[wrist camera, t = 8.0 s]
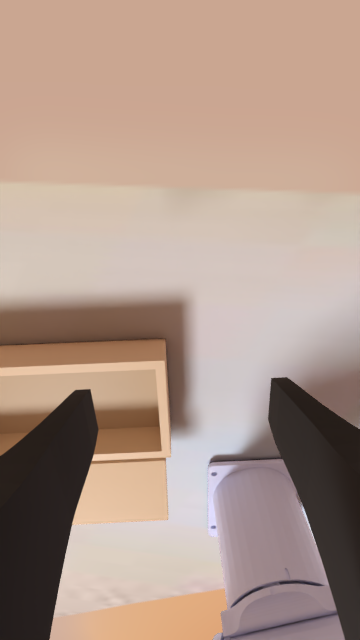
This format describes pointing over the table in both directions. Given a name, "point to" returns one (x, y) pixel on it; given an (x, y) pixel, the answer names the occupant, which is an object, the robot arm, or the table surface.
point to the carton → (106, 388)
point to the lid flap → (124, 492)
